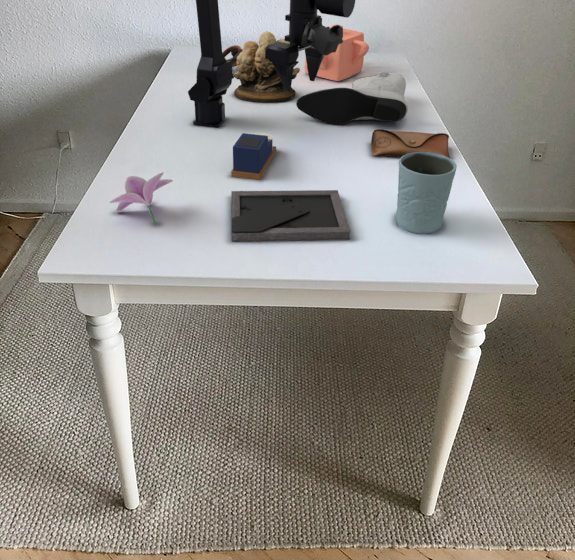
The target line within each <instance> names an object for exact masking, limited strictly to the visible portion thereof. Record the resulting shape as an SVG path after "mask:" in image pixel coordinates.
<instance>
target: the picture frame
mask: <svg viewBox="0 0 575 560" xmlns="http://www.w3.org/2000/svg"><path fill="white" fill-rule="evenodd" d="M230 198H231V200H230V201H231V202H230V204H231V205H230V207H231V208H230V209H231V211H230V212H231V213H230V214H231V216H230V217H231V219H230V220H231V225H230V226H231V227H230V228H231V231H230V232H231V242H269V241H271V242H272V241H275V242H276V241H322V240H323V241H330V240H335V241H336V240H337V241H339V240H350V239H351V230H350V226H349V223H348V219H347V216H346V213H345V210H344V206H343V203H342V200H341V197H340V194H339V190H338V189H330V190H329V189H328V190H327V189H323V190H321V189H319V190H317V189H316V190H314V189H313V190H231V195H230Z"/></svg>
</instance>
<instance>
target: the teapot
mask: <svg viewBox="0 0 575 560" xmlns="http://www.w3.org/2000/svg"><path fill="white" fill-rule="evenodd" d="M335 25H336V24H333V25H330V26H329V27H330V28H332V27H333V26H335ZM339 25H340V26H341V27H342V28H343V38H342V39H343V43H341V44H339V45H338V47H337V50H336V52H335V53H330V54H329V55H325V56H324V57H323V60H322V62H321V65H320V67H319V70H318V73H317V75H316V77H319V78H323V79H325V80H326V79H327V80H330V81H335V82H340V81H342V80H345V79H348V78H350V77H352V76H354V75H357V74H358V73H360V72H361V71H362V69H363V66H364V58H365V56H366V55H367V54H368V52H369V49H370V45H369V44H368V43H366V41H365V33H364V32H363V31H358V30H353V29H348V28H344V26H343V25H341V24H339ZM330 28H329V29H330ZM304 72H305V74H306V75H308V68H307V62H306V56H305V57H304Z"/></svg>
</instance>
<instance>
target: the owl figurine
mask: <svg viewBox="0 0 575 560" xmlns="http://www.w3.org/2000/svg"><path fill="white" fill-rule="evenodd" d="M278 41H279V42H283V43H287V44H290V42H287V41H285V38H279V39H276V36H275V35H274V34H273V33H272V32H271V31H263V32H262V33H261V34H260V35H259V38H258V42H256V41H253V40H248V41H246V42H245V43H244V46H243V47H242V49H243V51H242V52H241V53H240V54H239V55H238V56H237V66H236V69H237V72H234V73H233V76H234V78H235V79H236V80H239V81H240V84H239V85H238V86H237V88H235V89H234V91H233V92H234V93H233V95H234V97H235V98H237V99H239V100H243V101H248V102H256V103H278V102H279V103H280V102H286V101H289V100H291V99H293V98H295V96H296V93H297V92H296V90H295V89H294V88H293V86H291V89H290V91H289V92H288V91H286V90H285V89H284V86H283V84H282V82H281V79H280V77H279V75H278V73H277V71H276V69H275V67H274V65H273V63H272V62H269V59H265V48H266V47H267V46H268V45H269V44H272V43H275V42H278ZM300 72H301V69H300V68H299V67H294V68H293V75H292V80H295V79H296V78H297V75H298V74H299V73H300Z"/></svg>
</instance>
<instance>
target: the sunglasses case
mask: <svg viewBox="0 0 575 560" xmlns="http://www.w3.org/2000/svg"><path fill="white" fill-rule="evenodd" d="M449 139H450V136H449V134H448V133H445V132H441V133H440V132H439V133H431V132H430V133H428V132H420V131H406V130H405V131H404V130H388V129H383V128H376V129H374V130H373V132H372V135H371V139H370V148H371V149H370V150H371V155H372V156H375V157H394V158H401V157H402V156H404V155H406V154H409V153H414V152H429V153H436V154H440V155H443V156H446V157H448V158H450V159H452V158H451V156H450V152H449Z"/></svg>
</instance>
